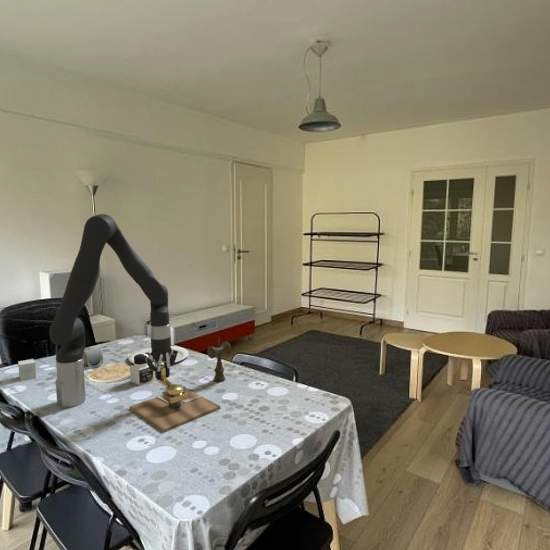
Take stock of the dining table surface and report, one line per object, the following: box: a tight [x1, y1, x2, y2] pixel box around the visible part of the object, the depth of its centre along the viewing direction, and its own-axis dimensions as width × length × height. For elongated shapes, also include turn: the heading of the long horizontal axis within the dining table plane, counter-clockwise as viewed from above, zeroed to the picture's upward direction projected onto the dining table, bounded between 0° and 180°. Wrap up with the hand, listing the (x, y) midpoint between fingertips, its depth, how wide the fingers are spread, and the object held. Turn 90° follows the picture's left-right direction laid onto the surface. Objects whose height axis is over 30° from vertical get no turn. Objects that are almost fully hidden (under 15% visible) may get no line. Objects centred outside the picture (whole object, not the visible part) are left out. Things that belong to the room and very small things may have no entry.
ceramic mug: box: [83, 347, 104, 369], centre depth 192 cm, size 11×8×8 cm
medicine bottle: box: [129, 354, 154, 386], centre depth 173 cm, size 7×7×12 cm
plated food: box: [127, 345, 189, 366], centre depth 203 cm, size 30×30×3 cm
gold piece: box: [158, 365, 188, 404], centre depth 150 cm, size 15×9×9 cm, turn 42°
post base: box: [129, 388, 221, 433], centre depth 148 cm, size 24×24×6 cm
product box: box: [17, 358, 37, 382], centre depth 176 cm, size 6×6×7 cm
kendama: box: [206, 336, 232, 382], centre depth 174 cm, size 6×10×20 cm, turn 134°
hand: (162, 378), depth 154 cm, fingers closed on gold piece, 3 cm apart
